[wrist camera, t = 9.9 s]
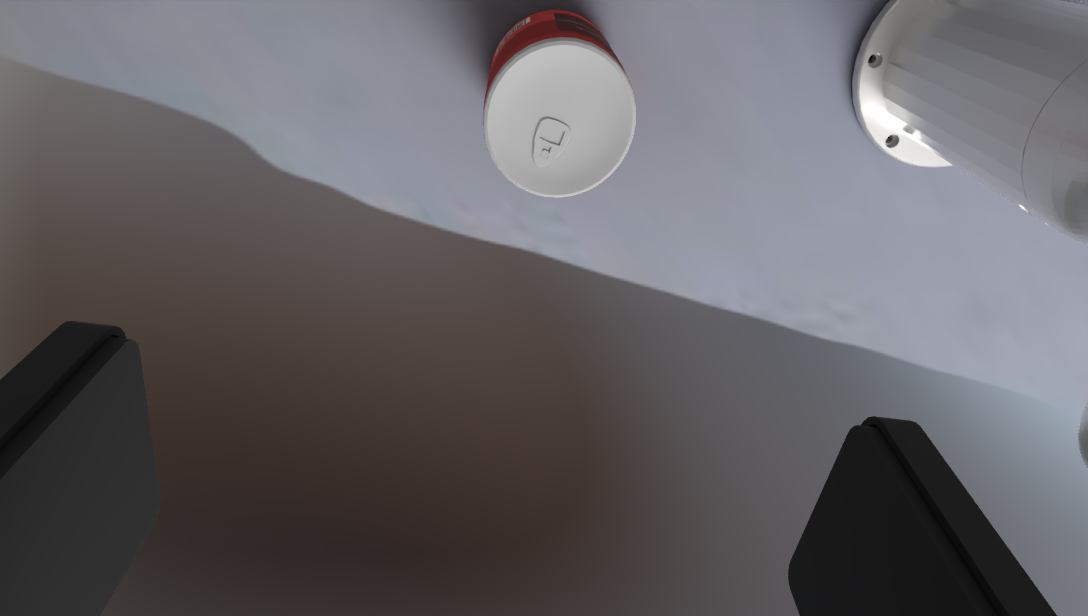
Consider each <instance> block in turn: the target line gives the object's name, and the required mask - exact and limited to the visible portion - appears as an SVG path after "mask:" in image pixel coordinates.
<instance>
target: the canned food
mask: <svg viewBox="0 0 1088 616" xmlns="http://www.w3.org/2000/svg"><path fill="white" fill-rule="evenodd" d="M635 124H636V105H635V98H634V94H633V90H632V86H631V84H630V82H629V79H628V77H627V75H626V73H625V71H624V69H623V67H622V65H621V63H620V62H619V60H618V59H617V57H616V55H615V54H614V52H613V50H612V49H611V47H610V46H609V44H608V42H607V41H606V39H605V38H604V36H603V35H602V33H601V32H600V31H599V29H598V28H597V27H596V26H594V25H593V24H592V23H591V22H590V21H589V20H587V19H585V18H584V17H582V16H580V15H578V14H576V13H573V12H569V11H566V10H554V9H552V10H545V11H539V12H537V13H534V14H531V15H529V16H527V17H525V18H523V19H522V20H520V21H519V22H517V23H516V24H515V25H514V26H513V27H512V28H511V29H510V30H509V31H507V33H506V34H505V36H504V37H503V38H502V40H501V41H500V43H499V45H498V47H497V49H496V51H495V53H494V56H493V60H492V64H491V68H490V73H489V79H488V84H487V90H486V95H485V101H484V113H483V127H484V135H485V140H486V143H487V146H488V149H489V152H490V155H491V157H492V159H493V160H494V162H495V164H496V166H497V167H498V169H499V170H500V171H501V172H502V173H503V174H504V176H505V177H506V178H507V179H508V180H510V181H511V182H512V183H514V184H515V185H516V186H518V187H519V188H521V189H523V190H525V191H527V192H530V193H532V194H536V195H540V196H544V197H557V198H559V197H567V196H574V195H577V194H580V193H583V192H586V191H588V190H590V189H591V188H593V187H595V186H597V185H599V184H600V183H601V182H603V181H604V180H605V179H606V178H608V177H609V176H610V175H611V174H612V173H613V172H614V171H615V169H616V168H617V167H618V166H619V165H620V164H621V162H622V160H623V158H624V157H625V155H626V153H627V152H628V150H629V147H630V144H631V141H632V139H633V136H634V130H635Z"/></svg>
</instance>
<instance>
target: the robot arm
mask: <svg viewBox="0 0 1088 616" xmlns="http://www.w3.org/2000/svg"><path fill="white" fill-rule="evenodd" d="M871 55H873V58H872V60H871V61H870V62H868V60H869V58H870V56H871ZM852 94H853V104H854V108H855V112H856V116H857V119H858V121H859V123H860V125H861V127H862V129H863V131H864V133H865V134H866V135H867V136H868V137H869V139H870V140H871V141H872V142H873V143H874V145H876V146H877V147H878V148H880V149H881V150H882V151H883V152H885V153H886V154H888V155H890V156H891V157H893V158H895V159H896V160H898V161H900V162H903V163H907V164H910V165H913V166H919V167H929V168H936V167H947V166H953V165H954V166H955V167H957V168H958V169H960V170H962V171H963V172H965V173H966V174H968V175H969V176H971V177H973V178H974V179H976V180H977V181H979V182H981V183H982V184H984V185H985V186H987V187H988V188H990V189H992V190H993V191H995V192H996V193H998V194H1000V195H1001V196H1003V197H1004V198H1006V199H1007V200H1009V201H1011V202H1012V203H1014V204H1015V205H1017V206H1018V207H1020V208H1022V209H1023V210H1025V211H1026V212H1028V213H1030V214H1031V215H1033V216H1034V217H1036V218H1038V219H1039V220H1041V221H1042V222H1044V223H1046V224H1047V225H1049V226H1051V227H1052V228H1054V229H1056V230H1057V231H1059V232H1060V233H1062V234H1064V235H1065V236H1067V237H1069V238H1071V239H1073V240H1075V241H1077V242H1079V243H1081V244H1084V245H1087V246H1088V6H1087V5H1082V4H1077V3H1072V2H1067V1H1062V0H890V1H889V2H888V3H887V4H886V5H885V6H884V8H883V9H882V10H881V12H880V13H879V14H878V16H877V17H876V18H875V20H874V21H873V23H872V24H871V26H870V28H869V30H868V32H867V34H866V36H865V38H864V39H863V41H862V44H861V47H860V50H859V53H858V55H857V58H856V61H855V67H854V73H853V79H852ZM889 136H890V138H889V139H888V140H886V139H887V138H888V137H889ZM1078 445H1079V450H1080V454H1081V457H1082V460H1083V462H1084V464H1085V466H1086V468H1087V470H1088V403H1087V405H1086V407H1085V409H1084V411H1083V414H1082V417H1081V420H1080V426H1079V431H1078ZM159 508H160V492H159V485H158V478H157V471H156V464H155V457H154V449H153V442H152V436H151V428H150V422H149V414H148V407H147V400H146V394H145V386H144V379H143V372H142V365H141V357H140V351H139V347H138V344H137V343H136V341H134V340H130V339H126V336H125V333H124V332H123V330H122V329H121V328H119V327H117V326H110V325H102V324H94V323H85V322H77V321H69V322H65V323H63V324H62V325H60V326H59V327H58V328H57V329H56V330H55V331H53V332H52V333H51V334H50V335H49V336H48V337H47V338H46V339H45V340H44V341H43V342H41V343H40V344H39V345H38V346H37V347H36V348H35V349H34V350H33V351H32V352H30V353H29V354H28V355H27V356H26V357H25V358H24V359H23V360H22V361H21V362H19V363H18V364H17V365H16V366H15V367H14V368H13V369H12V370H11V371H10V372H8V373H7V374H6V375H5V376H4V377H3V378H2V379H1V380H0V616H100V614H101V613H102V611H103V609H104V608H105V606H106V604H107V603H108V601H109V599H110V598H111V596H112V594H113V593H114V591H115V590H116V587H117V586H118V585H119V583H120V581H121V580H122V578H123V576H124V575H125V573H126V571H127V570H128V568H129V566H130V565H131V563H132V561H133V560H134V558H135V556H136V555H137V553H138V551H139V550H140V548H141V546H142V545H143V543H144V541H145V540H146V538H147V536H148V535H149V533H150V532H151V530H152V528H153V526H154V524H155V522H156V519H157V516H158V512H159ZM788 579H789V586H790V589H791V592H792V595H793V598H794V601H795V604H796V606H797V609H798V612H799V614H800V616H1057V615H1056V614H1055V612H1054V611H1053V610H1052V608H1051V607H1050V605H1049V604H1048V603H1047V601H1046V600H1045V599H1044V597H1043V596H1042V594H1041V593H1040V592H1039V590H1038V589H1037V587H1036V586H1035V585H1034V583H1033V582H1032V580H1031V579H1030V578H1029V576H1028V575H1027V573H1026V572H1025V571H1024V569H1023V568H1022V567H1021V565H1020V564H1019V562H1018V561H1017V560H1016V558H1015V557H1014V556H1013V554H1012V553H1011V551H1010V550H1009V549H1008V547H1007V546H1006V544H1005V543H1004V542H1003V540H1002V539H1001V537H1000V536H999V535H998V533H997V532H996V531H995V529H994V528H993V526H992V525H991V524H990V522H989V521H988V519H987V518H986V517H985V516H984V514H983V512H982V511H981V510H980V508H979V507H978V506H977V504H976V503H975V502H974V500H973V499H972V497H971V496H970V495H969V493H968V492H967V490H966V489H965V488H964V486H963V485H962V483H961V482H960V481H959V479H958V478H957V476H956V475H955V474H954V472H953V471H952V470H951V468H950V467H949V466H948V464H947V463H946V461H945V460H944V458H943V457H942V456H941V454H940V453H939V451H938V450H937V449H936V447H935V446H934V445H933V443H932V442H931V440H930V439H929V438H928V436H927V435H926V433H925V432H924V431H923V429H922V428H921V427H920V426H919V425H918V424H917V423H916V422H913V421H908V420H899V419H891V418H882V417H875V416H873V417H868V418H867V419H866V420H865V421H864V422H863V423H862V424H861V426H860V425H857V426H854V427H853V428H851V429H850V431H849V433H848V434H847V436H846V439H845V441H844V443H843V445H842V448H841V450H840V452H839V455H838V456H837V459H836V461H835V463H834V465H833V468H832V470H831V472H830V474H829V476H828V479H827V481H826V483H825V485H824V488H823V490H822V492H821V494H820V497H819V499H818V501H817V503H816V505H815V508H814V510H813V512H812V514H811V517H810V519H809V521H808V523H807V526H806V528H805V530H804V532H803V534H802V537H801V539H800V541H799V543H798V545H797V548H796V550H795V552H794V554H793V556H792V559H791V561H790V564H789V573H788Z"/></svg>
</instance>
